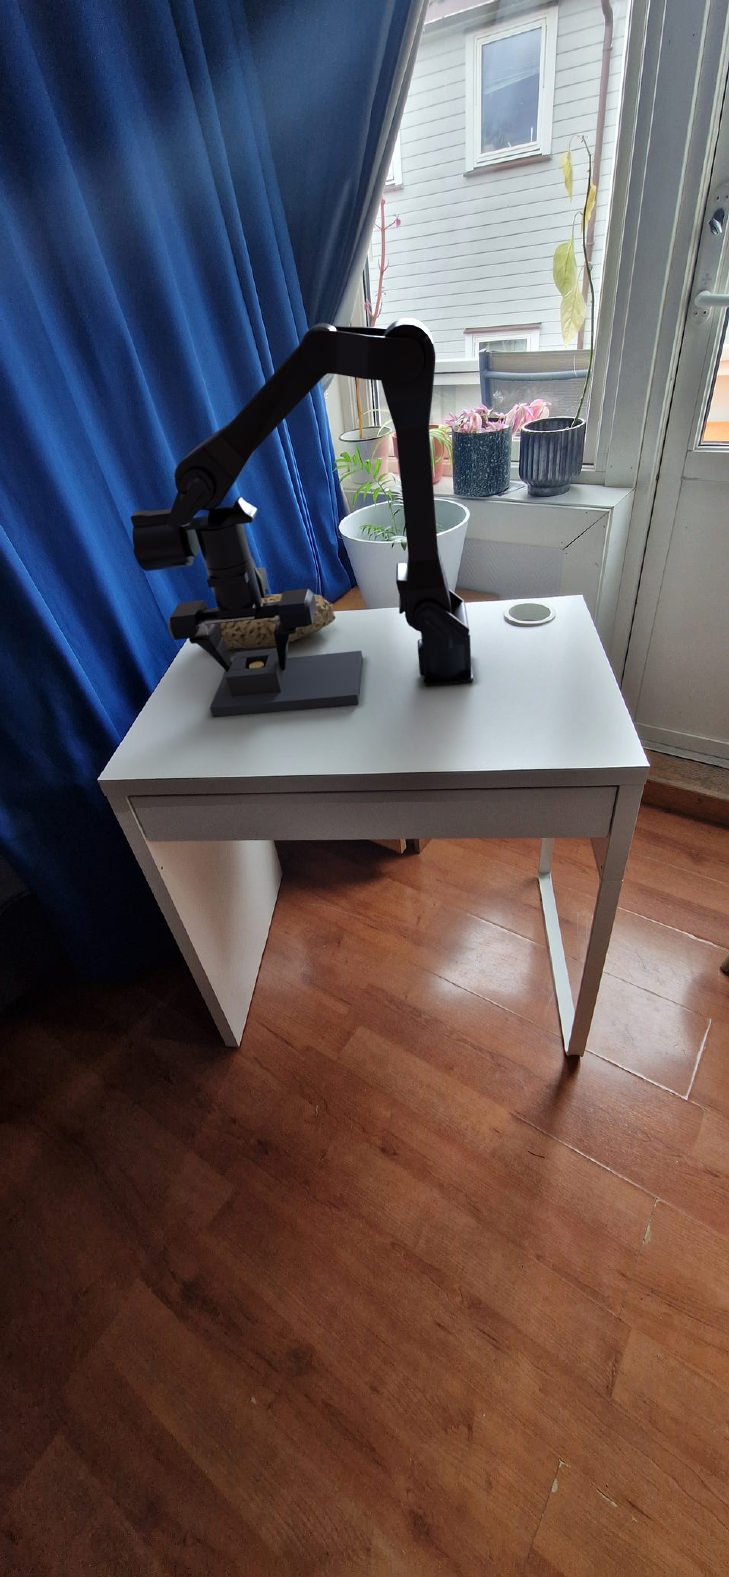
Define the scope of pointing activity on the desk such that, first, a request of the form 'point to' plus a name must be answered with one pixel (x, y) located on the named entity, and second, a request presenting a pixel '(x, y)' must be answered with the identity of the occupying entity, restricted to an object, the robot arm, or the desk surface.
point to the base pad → (299, 686)
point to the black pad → (255, 673)
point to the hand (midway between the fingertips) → (258, 671)
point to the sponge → (272, 626)
